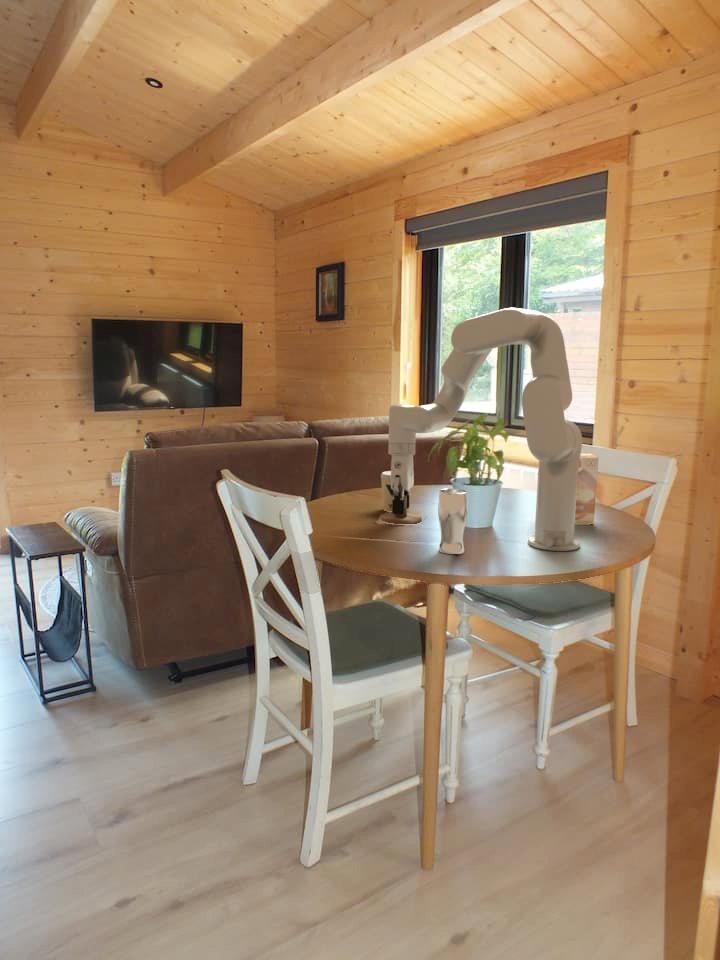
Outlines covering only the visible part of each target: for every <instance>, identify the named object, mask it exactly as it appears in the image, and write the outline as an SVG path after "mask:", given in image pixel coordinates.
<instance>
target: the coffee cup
mask: <svg viewBox="0 0 720 960" xmlns="http://www.w3.org/2000/svg"><path fill="white" fill-rule="evenodd" d="M380 479H381V480H380V482H381V497H382V498H381V499H382V510H383V509H384V510H387V511H392V501H393V490H392V489H391V470H387V471H382V472H381V474H380ZM411 489H412V487H411V488H410V489H409V505H410V504H411V503H410V500H411V491H412V490H411ZM408 510H409V511H410V507H409V508H408V509H407V511H408ZM409 511H408V512H409Z"/></svg>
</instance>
